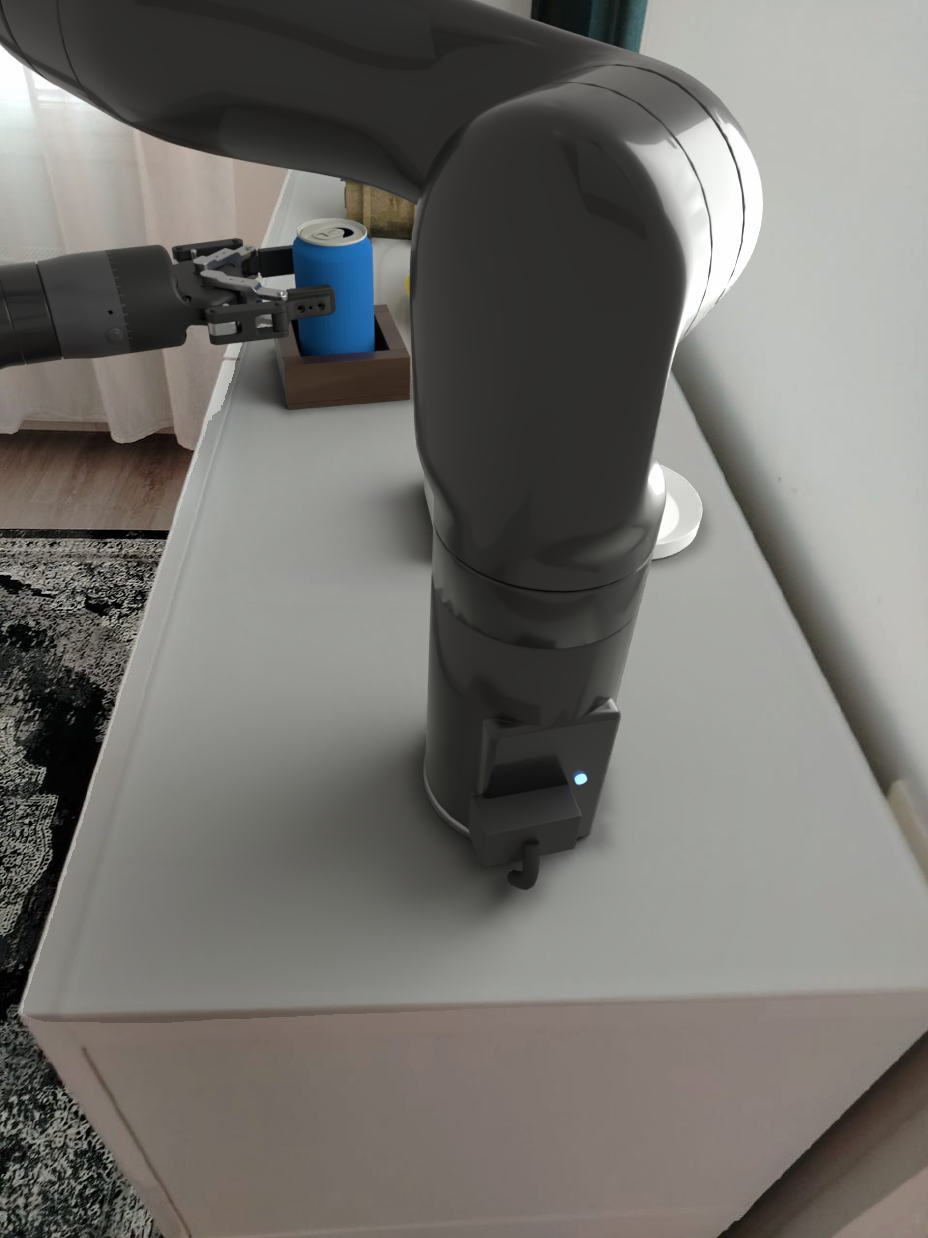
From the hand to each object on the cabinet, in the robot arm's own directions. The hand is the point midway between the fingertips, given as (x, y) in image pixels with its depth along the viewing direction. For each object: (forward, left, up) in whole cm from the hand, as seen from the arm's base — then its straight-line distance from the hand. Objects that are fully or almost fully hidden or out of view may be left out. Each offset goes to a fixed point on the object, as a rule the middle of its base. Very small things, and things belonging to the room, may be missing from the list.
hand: (317, 277), depth 74 cm
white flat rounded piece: (-24, -15, -9) cm, 29 cm away
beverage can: (0, -1, -8) cm, 9 cm away
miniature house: (+37, -16, -9) cm, 41 cm away
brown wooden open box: (0, -2, -9) cm, 9 cm away
